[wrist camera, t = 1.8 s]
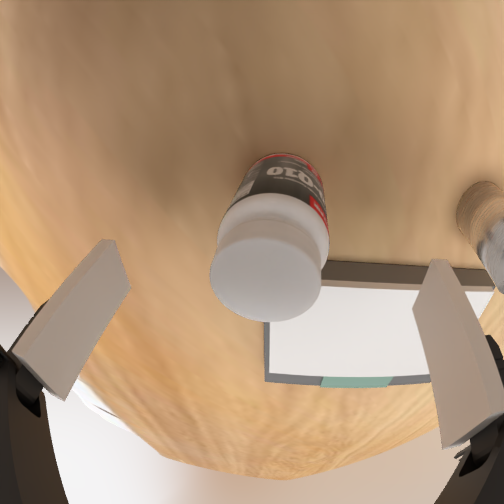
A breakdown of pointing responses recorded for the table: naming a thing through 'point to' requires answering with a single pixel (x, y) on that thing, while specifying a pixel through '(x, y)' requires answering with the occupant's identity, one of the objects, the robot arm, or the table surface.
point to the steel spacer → (485, 226)
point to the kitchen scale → (360, 328)
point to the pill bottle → (272, 241)
